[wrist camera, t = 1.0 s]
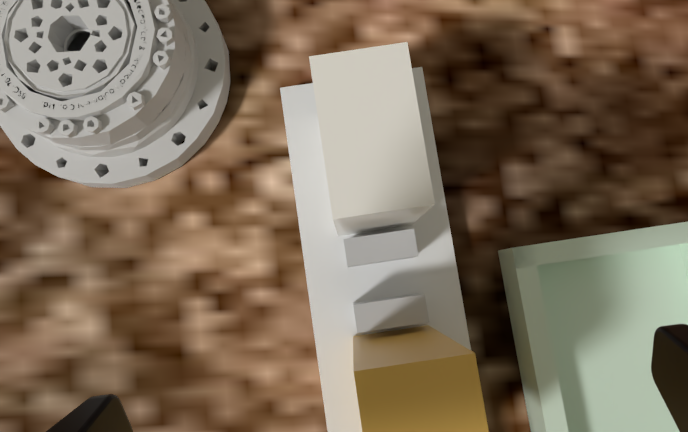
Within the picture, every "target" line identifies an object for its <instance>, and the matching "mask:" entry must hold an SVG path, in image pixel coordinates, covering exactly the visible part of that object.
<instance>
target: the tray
mask: <svg viewBox="0 0 688 432" xmlns="http://www.w3.org/2000/svg"><path fill="white" fill-rule="evenodd" d="M498 255H499V261H500V266H501V271H502V277H503V282H504V288H505V293H506V299H507V304H508V310H509V315H510V321H511V326H512V331H513V337H514V342H515V348H516V353H517V359H518V364H519V370H520V375H521V381H522V386H523V392H524V397H525V402H526V408H527V413H528V419H529V424H530V430H531V432H680V431H679V429H678V427H677V425H676V423H675V421H674V420H673V418H672V416H671V414H670V412H669V410H668V408H667V406H666V404H665V402H664V400H663V398H662V396H661V394H660V392H659V390H658V388H657V386H656V384H655V382H654V380H653V377H652V372H651V361H652V351H653V340H654V333H655V331H656V329H657V328H658V327H660V326H667V325H675V324H686V325H688V222H681V223H675V224H668V225H661V226H655V227H648V228H641V229H634V230H628V231H621V232H614V233H608V234H601V235H594V236H588V237H581V238H574V239H567V240H561V241H554V242H547V243H541V244H534V245H527V246H521V247H514V248H508V249H503V250H498Z"/></svg>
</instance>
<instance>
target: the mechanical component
mask: <svg viewBox="0 0 688 432" xmlns="http://www.w3.org/2000/svg"><path fill="white" fill-rule="evenodd" d="M214 70H215V72H214ZM229 88H230V65H229V51H228V48H227V45H226V43H225V40H224V38H223V35H222V32H221V30H220V27H219V25H218V23H217V21H216V19H215V17H214V16H213V14H212V12H211V10H210V8H209V7H208V5H207V3H206V1H205V0H0V126H1V127H2V129H3V130H4V132H5V133H6V135H7V136H8V137H9V139H10V140H11V142H12V143H13V144H14V146H15V147H16V148H17V150H19V151H20V152H21V153H22V154H23V155H24V156H26V157H27V158H28V159H29V160H30V161H31V162H33V163H34V164H35V165H37V166H39V167H41V168H42V169H44V170H46V171H48V172H50V173H52V174H54V175H56V176H58V177H61V178H64V179H67V180H70V181H74V182H77V183H80V184H83V185H86V186H90V187H107V188H128V187H132V186H135V185H139V184H143V183H147V182H150V181H154V180H157V179H159V178H161V177H162V176H164V175H166V174H168V173H170V172H172V171H174V170H175V169H177V168H179V167H181V166H182V165H183V164H185V163H186V162H187V161H188V160H189V159H190V158H191V157H192V156H193V155H194V154H195V153H196V152H197V151H198V150H199V149H200V148H201V147H202V146H203V145H204V144H205V143H206V142H207V140H208V138H209V137H210V135H211V134H212V132H213V131H214V129H215V128H216V126H217V125H218V123H219V121H220V118H221V116H222V113H223V111H224V108H225V106H226V103H227V100H228V94H229ZM184 140H185V142H184V143H183V144H181V145H179V144H180V143H181V142H183V141H184ZM108 172H109V173H108Z"/></svg>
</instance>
